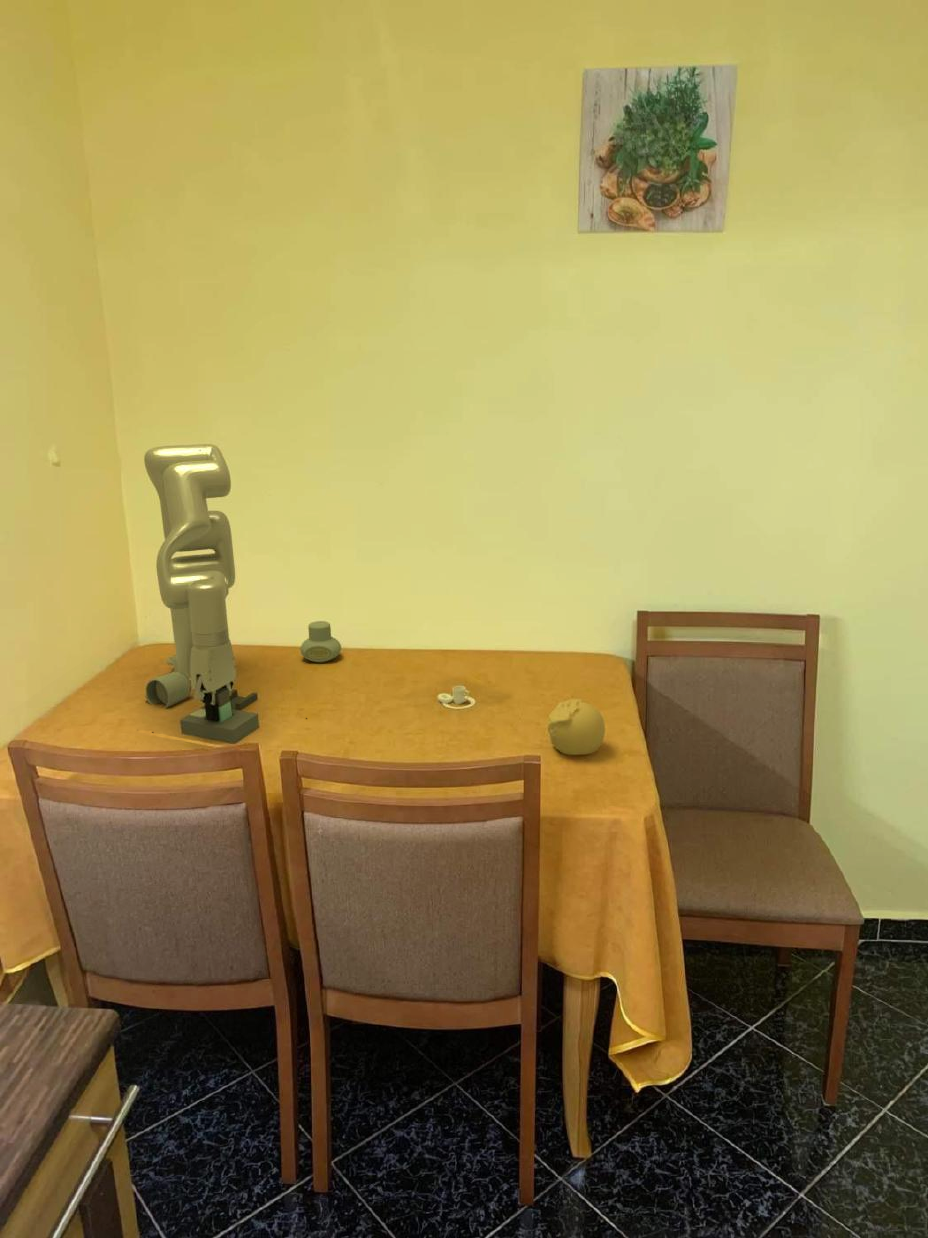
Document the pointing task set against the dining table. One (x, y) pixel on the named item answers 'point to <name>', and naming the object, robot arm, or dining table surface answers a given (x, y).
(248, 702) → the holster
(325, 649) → the air freshener
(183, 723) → the port panel
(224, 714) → the plug
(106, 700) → the dining table surface
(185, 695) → the ceramic mug
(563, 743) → the sculpture
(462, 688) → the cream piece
